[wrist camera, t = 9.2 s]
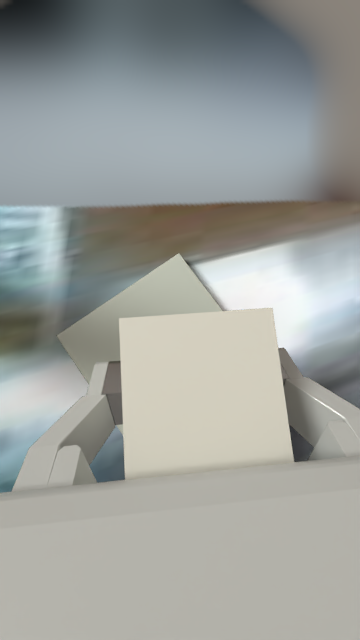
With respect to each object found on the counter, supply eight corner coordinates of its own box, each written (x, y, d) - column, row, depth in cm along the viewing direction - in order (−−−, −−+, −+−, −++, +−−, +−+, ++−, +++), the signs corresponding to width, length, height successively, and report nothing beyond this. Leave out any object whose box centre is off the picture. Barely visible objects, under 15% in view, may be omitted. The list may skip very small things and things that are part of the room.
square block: (226, 412, 14) (295, 472, 7) (149, 419, 14) (125, 490, 6) (218, 336, 15) (272, 307, 7) (145, 341, 15) (118, 318, 7)
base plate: (61, 337, 24) (26, 328, 18) (178, 258, 26) (181, 227, 20) (171, 499, 23) (173, 550, 16) (287, 401, 25) (328, 415, 18)
